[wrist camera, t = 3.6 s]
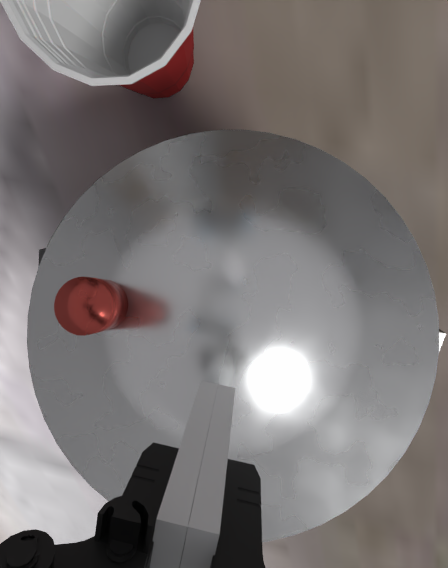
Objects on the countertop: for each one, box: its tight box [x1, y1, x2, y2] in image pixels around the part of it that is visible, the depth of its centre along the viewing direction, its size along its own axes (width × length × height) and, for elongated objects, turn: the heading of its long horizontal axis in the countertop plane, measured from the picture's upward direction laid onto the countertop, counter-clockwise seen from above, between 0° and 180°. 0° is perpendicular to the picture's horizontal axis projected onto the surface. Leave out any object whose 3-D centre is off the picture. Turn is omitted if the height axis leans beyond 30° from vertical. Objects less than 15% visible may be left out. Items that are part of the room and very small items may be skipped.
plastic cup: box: [0, 0, 201, 98], centre depth 21 cm, size 11×11×12 cm
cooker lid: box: [27, 130, 439, 568], centre depth 15 cm, size 23×19×4 cm
